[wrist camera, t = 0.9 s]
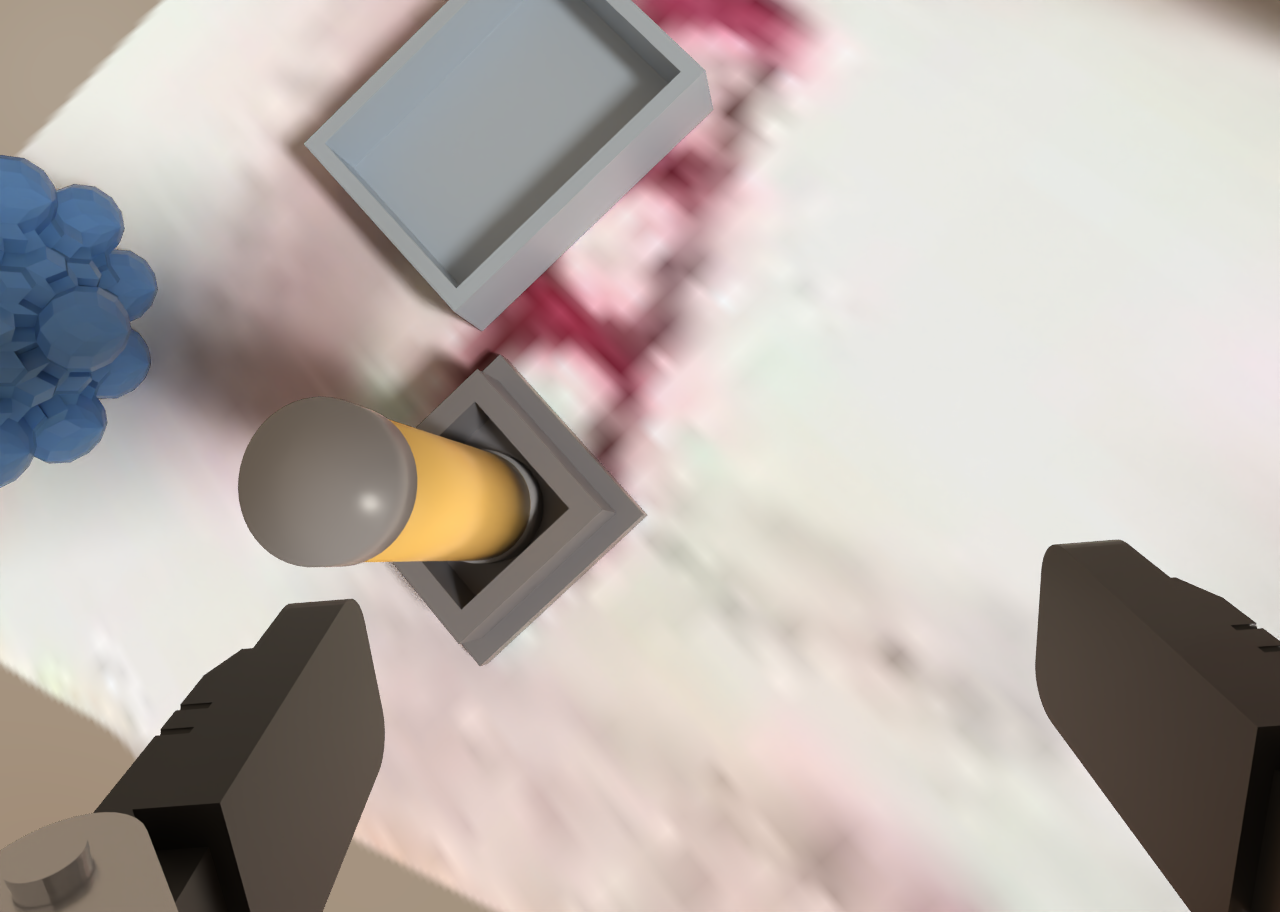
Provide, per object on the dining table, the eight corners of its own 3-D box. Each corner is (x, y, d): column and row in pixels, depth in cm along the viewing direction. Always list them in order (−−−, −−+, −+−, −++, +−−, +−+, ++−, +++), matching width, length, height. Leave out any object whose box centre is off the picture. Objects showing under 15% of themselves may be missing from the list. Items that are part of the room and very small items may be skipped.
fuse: (495, 430, 33) (325, 362, 22) (565, 510, 33) (429, 485, 21) (416, 504, 34) (207, 476, 22) (485, 586, 33) (305, 603, 21)
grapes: (213, 514, 36) (-74, 495, 24) (65, 497, 37) (-276, 471, 25) (256, 228, 37) (2, 76, 25) (111, 221, 38) (-196, 73, 26)
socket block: (506, 359, 34) (479, 340, 31) (647, 515, 33) (631, 510, 30) (356, 503, 35) (315, 498, 32) (487, 664, 33) (456, 674, 30)
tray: (558, -39, 36) (537, -88, 33) (713, 109, 34) (705, 70, 31) (341, 174, 36) (303, 144, 34) (482, 331, 35) (454, 311, 32)
